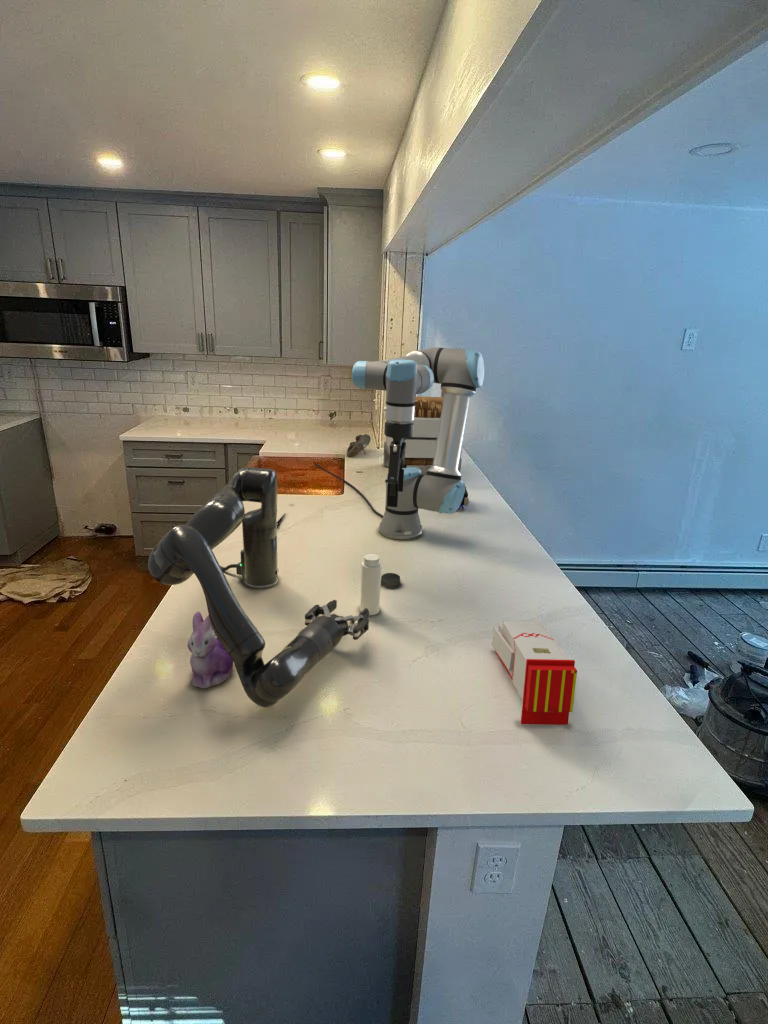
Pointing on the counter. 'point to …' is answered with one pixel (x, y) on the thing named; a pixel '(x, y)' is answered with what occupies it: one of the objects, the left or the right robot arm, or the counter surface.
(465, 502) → the figurine character
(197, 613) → the figurine
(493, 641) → the toy
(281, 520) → the feather
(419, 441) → the white wooden crate
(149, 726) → the counter surface
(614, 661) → the counter surface
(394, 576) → the lid
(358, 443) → the fossil
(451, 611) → the counter surface
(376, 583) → the jar
